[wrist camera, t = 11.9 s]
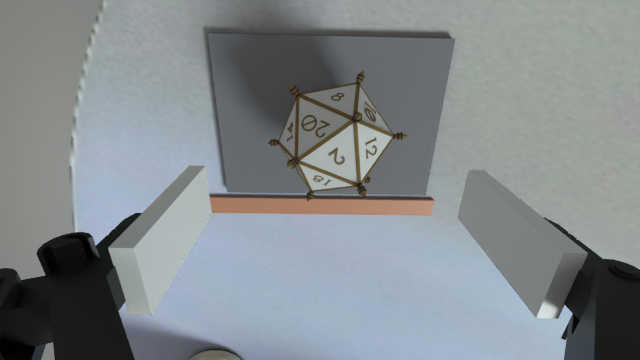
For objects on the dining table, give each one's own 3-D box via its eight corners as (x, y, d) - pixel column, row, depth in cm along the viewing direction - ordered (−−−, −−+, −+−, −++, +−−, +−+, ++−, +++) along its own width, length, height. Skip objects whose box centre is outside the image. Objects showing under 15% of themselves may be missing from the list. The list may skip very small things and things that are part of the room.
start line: (430, 213, 30) (431, 215, 30) (199, 210, 30) (198, 212, 29) (433, 199, 29) (434, 200, 29) (196, 195, 29) (195, 197, 29)
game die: (311, 123, 29) (225, 163, 22) (351, 39, 24) (252, 58, 17) (383, 188, 27) (314, 253, 21) (447, 113, 22) (379, 170, 15)
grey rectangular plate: (423, 192, 29) (425, 195, 29) (228, 189, 29) (227, 192, 28) (452, 38, 23) (455, 38, 23) (209, 33, 23) (207, 33, 23)
